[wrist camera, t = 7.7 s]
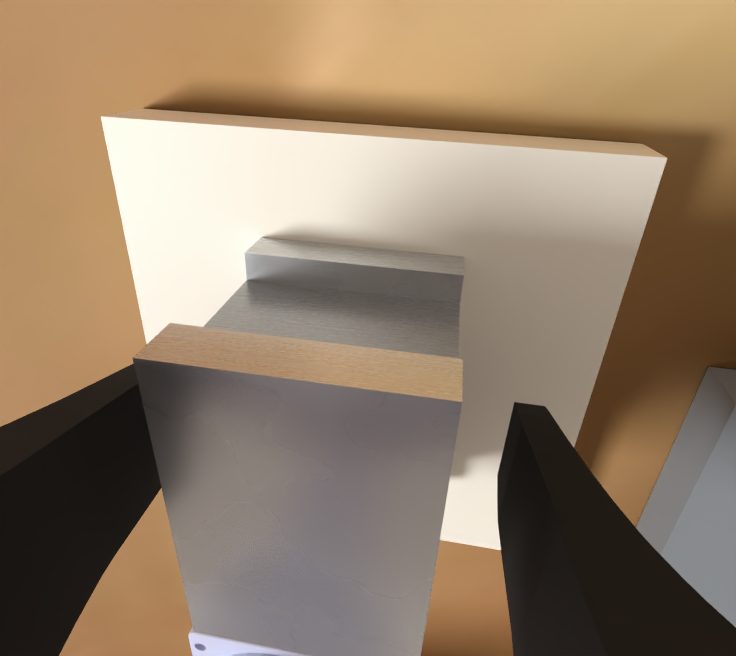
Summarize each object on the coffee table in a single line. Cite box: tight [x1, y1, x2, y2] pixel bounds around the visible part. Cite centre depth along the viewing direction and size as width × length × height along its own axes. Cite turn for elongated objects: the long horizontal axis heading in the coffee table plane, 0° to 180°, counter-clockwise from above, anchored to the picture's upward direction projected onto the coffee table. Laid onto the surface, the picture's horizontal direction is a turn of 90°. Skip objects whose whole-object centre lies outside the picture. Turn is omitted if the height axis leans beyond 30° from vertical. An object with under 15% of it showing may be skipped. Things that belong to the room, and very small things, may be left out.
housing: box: [133, 237, 464, 656], centre depth 10 cm, size 6×4×5 cm
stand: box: [101, 108, 667, 550], centre depth 13 cm, size 11×11×2 cm
